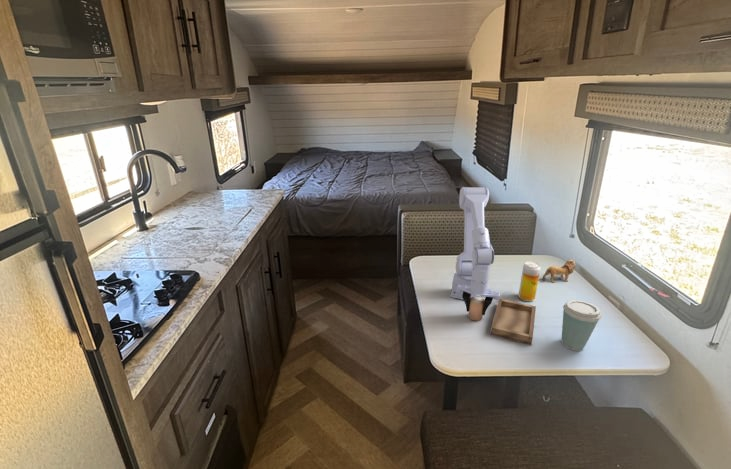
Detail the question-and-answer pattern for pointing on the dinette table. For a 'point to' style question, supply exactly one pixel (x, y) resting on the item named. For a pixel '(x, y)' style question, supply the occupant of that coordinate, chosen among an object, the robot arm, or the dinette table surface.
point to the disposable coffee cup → (578, 323)
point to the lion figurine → (560, 270)
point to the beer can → (529, 281)
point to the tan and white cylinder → (476, 308)
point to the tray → (514, 321)
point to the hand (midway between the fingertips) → (475, 312)
